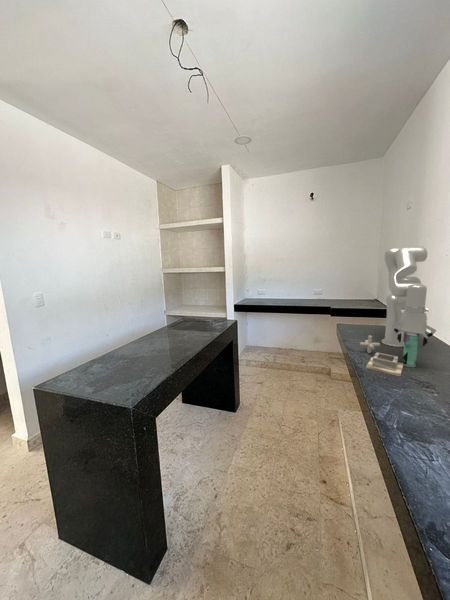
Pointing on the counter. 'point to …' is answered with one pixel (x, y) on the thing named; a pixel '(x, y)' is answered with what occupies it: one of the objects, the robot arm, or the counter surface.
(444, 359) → the counter surface
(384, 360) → the collar block
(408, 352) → the spray can
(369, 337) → the pipe connector
